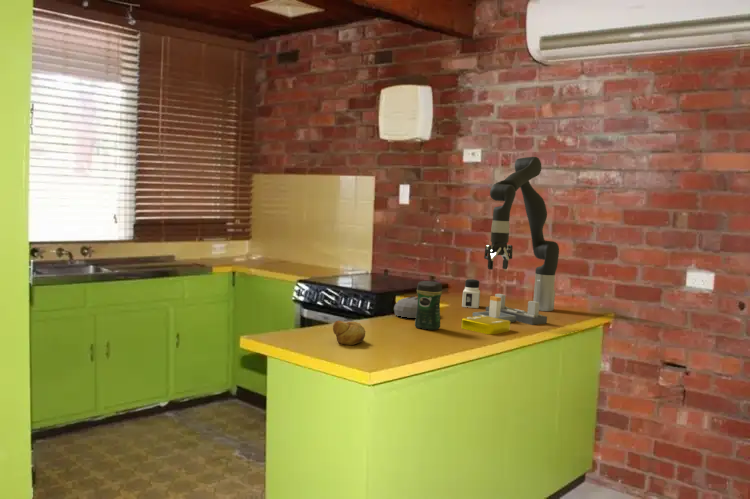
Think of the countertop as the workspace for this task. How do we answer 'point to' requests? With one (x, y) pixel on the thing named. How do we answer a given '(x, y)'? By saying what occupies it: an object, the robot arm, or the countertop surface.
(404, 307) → the soft grey pack
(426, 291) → the coffee jar
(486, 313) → the tray
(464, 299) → the container
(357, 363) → the countertop surface
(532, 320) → the fuse holder
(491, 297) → the block
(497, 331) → the element tile
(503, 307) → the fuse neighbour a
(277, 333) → the countertop surface
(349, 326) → the bread roll
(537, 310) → the block
